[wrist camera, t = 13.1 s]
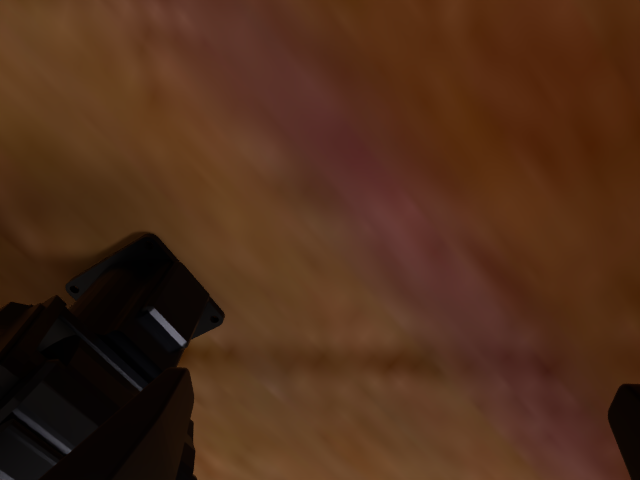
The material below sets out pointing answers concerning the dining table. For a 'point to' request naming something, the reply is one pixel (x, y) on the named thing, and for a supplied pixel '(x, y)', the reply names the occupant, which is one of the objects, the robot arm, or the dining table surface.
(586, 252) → the dining table surface
